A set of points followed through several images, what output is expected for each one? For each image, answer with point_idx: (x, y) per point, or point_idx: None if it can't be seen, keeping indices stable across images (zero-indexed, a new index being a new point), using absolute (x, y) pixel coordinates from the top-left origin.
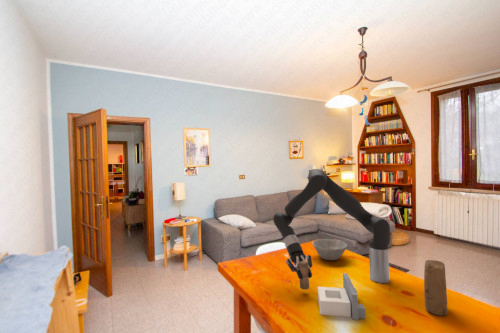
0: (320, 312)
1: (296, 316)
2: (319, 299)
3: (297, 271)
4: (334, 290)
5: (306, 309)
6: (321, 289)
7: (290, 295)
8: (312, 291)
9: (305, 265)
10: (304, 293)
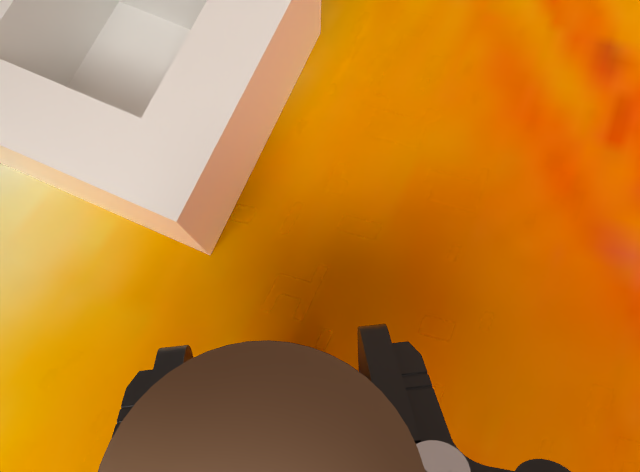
0: (319, 23)
1: (531, 59)
2: (290, 25)
3: (450, 443)
4: (29, 75)
5: (407, 124)
6: (170, 141)
7: (474, 408)
8: None
9: (270, 342)
10: None
